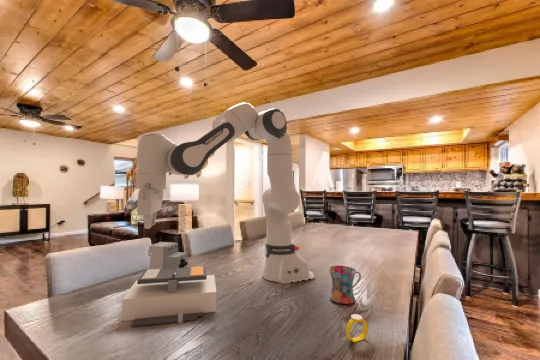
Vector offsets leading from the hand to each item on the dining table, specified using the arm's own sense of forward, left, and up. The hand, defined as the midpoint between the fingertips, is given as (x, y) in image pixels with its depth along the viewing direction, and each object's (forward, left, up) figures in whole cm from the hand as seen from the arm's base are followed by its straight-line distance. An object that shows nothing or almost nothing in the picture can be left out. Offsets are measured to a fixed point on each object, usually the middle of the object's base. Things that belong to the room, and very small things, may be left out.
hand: (149, 226), depth 82 cm
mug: (-65, +9, -25) cm, 70 cm away
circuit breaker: (-4, -21, -25) cm, 33 cm away
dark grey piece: (-8, +11, -25) cm, 29 cm away
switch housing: (-8, 0, -25) cm, 26 cm away
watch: (-55, +31, -25) cm, 68 cm away
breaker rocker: (-8, 0, -16) cm, 18 cm away
